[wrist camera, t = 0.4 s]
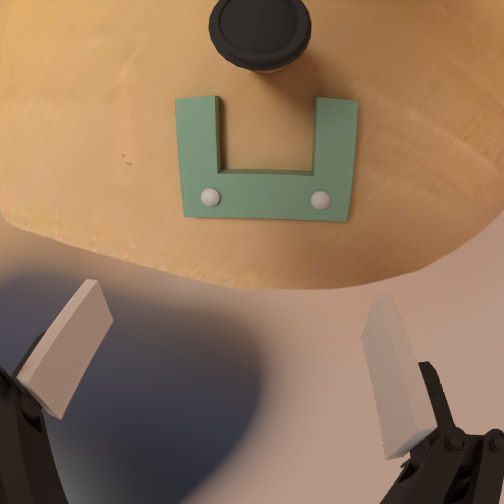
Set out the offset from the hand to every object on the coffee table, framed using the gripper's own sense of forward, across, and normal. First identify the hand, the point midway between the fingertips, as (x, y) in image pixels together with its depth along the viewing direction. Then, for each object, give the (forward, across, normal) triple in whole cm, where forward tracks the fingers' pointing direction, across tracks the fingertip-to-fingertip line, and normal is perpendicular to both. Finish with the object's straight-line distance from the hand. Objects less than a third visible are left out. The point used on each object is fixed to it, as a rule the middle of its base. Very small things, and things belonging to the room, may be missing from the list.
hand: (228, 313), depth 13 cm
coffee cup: (+28, +1, +15) cm, 32 cm away
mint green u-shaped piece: (+28, +1, 0) cm, 28 cm away
